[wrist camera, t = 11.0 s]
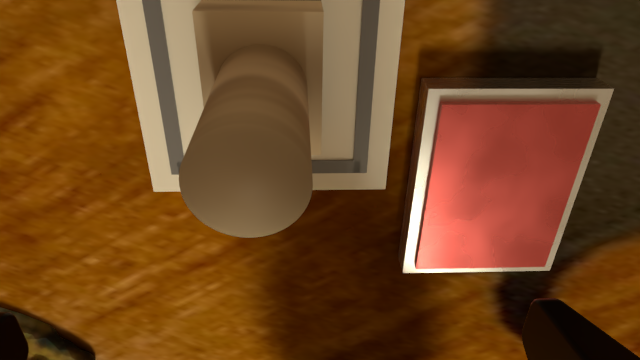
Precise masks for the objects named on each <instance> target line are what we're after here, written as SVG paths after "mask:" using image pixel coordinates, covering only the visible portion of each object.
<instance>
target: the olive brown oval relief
mask: <svg viewBox="0 0 640 360" xmlns="http://www.w3.org/2000/svg"><path fill="white" fill-rule="evenodd" d="M0 312H11V313H12V314H14V315H15V316H16V318H17V320H18V322H19V325H20V327H21V329H22V331H23V333H24V336H25V338H26V340H27V342H28V347H29V353H28V358H27V360H95V357H94V356H93V355H92V354H91V353H90V352H87V351H83V350H80V349H79V348H78V347H76V346H75V345H74V344H73V343H72V342H70V341H68V340H66V339H63V338H61V337H60V336H59V335H58V334H57V331H56V330H55V329H54V328H53V327H52V326H50V325H49V324H46V323H44V322H42V321H39V320H37V319H34V318H32V317H29V316H26V315H24V314H21V313H18V312H15V311H11V310H8V309H4V308H1V307H0Z"/></svg>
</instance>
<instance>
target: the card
mask: <svg viewBox="0 0 640 360" xmlns="http://www.w3.org/2000/svg"><path fill="white" fill-rule="evenodd" d="M200 1H201V0H116V2H117V7H118V12H119V17H120V22H121V27H122V32H123V37H124V43H125V48H126V53H127V58H128V63H129V68H130V73H131V78H132V83H133V88H134V93H135V98H136V104H137V109H138V114H139V119H140V124H141V129H142V134H143V139H144V144H145V149H146V154H147V159H148V165H149V170H150V175H151V180H152V185H153V190H154V192H166V191H180V187H179V170H180V166H181V162H182V160H183V158H184V155H185V153H186V150H187V148H188V145H189V143H190V141H191V138H192V136H193V133H194V131H195V129H196V126H197V124H198V121H199V119H200V116H201V114H202V112H203V109H204V106H203V97H202V89H201V81H200V73H199V64H198V56H197V48H196V40H195V31H194V23H193V15H192V11H193V9H194V8H195V7H196V6H197V5H198V3H199V2H200ZM321 2H322V7H323V11H324V18H323V77H322V135H321V155H311V161H312V178H313V189H312V190H366V189H386V179H387V169H388V160H389V150H390V140H391V131H392V121H393V112H394V102H395V92H396V83H397V73H398V63H399V54H400V44H401V34H402V25H403V15H404V5H405V0H321Z"/></svg>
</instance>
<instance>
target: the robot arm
mask: <svg viewBox="0 0 640 360" xmlns="http://www.w3.org/2000/svg"><path fill="white" fill-rule="evenodd" d="M522 341H523V345H524V349H525V352H526V355H527V358H528V360H640V358H639V357H638V356H637V355H635V354H634V353H632V352H631V351H630V350H628V349H627V348H626V347H624V346H623V345H621V344H620V343H619V342H617V341H616V340H615V339H613V338H612V337H610V336H609V335H608V334H606V333H605V332H604V331H602V330H601V329H599V328H598V327H597V326H595V325H594V324H593V323H591V322H590V321H588V320H587V319H586V318H584V317H583V316H582V315H580V314H579V313H577V312H576V311H575V310H573V309H572V308H571V307H569V306H568V305H566V304H565V303H564V302H562V301H561V300H559V299H555V298H549V299H535V300H534V301H533V302H532V303H531V306H530V309H529V312H528V315H527V318H526V321H525V324H524V327H523V330H522ZM28 353H29V347H28V342H27V340H26V338H25V336H24V333H23V331H22V329H21V327H20V325H19V322H18V320H17V318H16V316H15V315H14V314H12V313H11V312H0V360H27V358H28Z"/></svg>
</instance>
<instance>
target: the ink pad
mask: <svg viewBox="0 0 640 360" xmlns="http://www.w3.org/2000/svg"><path fill="white" fill-rule="evenodd" d="M613 90H614V88H612V87H611V86H609V85H607V84H606V83H604V82H603V81H601V80H600V79H598V78H421V85H420V93H419V100H418V108H417V115H416V123H415V131H414V138H413V146H412V153H411V161H410V169H409V176H408V184H407V191H406V199H405V207H404V214H403V222H402V230H401V237H400V245H399V252H398V258H399V262H400V265H401V269H402V272H403V273H440V272H495V271H550V269H551V266H552V263H553V260H554V257H555V254H556V252H557V249H558V246H559V243H560V240H561V237H562V235H563V232H564V229H565V226H566V223H567V221H568V218H569V215H570V212H571V209H572V206H573V204H574V201H575V198H576V195H577V192H578V189H579V187H580V184H581V181H582V178H583V175H584V172H585V170H586V167H587V164H588V161H589V158H590V156H591V153H592V150H593V147H594V144H595V141H596V139H597V136H598V133H599V130H600V127H601V124H602V122H603V119H604V116H605V113H606V110H607V107H608V105H609V102H610V99H611V96H612V93H613Z"/></svg>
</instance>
